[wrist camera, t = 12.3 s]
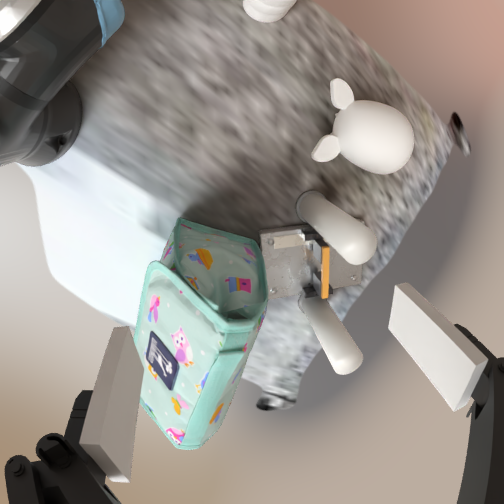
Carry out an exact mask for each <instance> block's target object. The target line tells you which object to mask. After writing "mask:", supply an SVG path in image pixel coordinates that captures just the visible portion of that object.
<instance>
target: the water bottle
mask: <svg viewBox="0 0 504 504" xmlns="http://www.w3.org/2000/svg"><path fill="white" fill-rule="evenodd" d="M295 2H296V0H243V7H244V9H245V11H246V13H247V14H248V15H249V16H250V17H252V18H253V19H255V20H257V21H260V22H275V21H278V20H280V19H281V18H283V17H284V16H285V15H286V14H287V12H288V11H289V9H290V8H291V7H292V6H293V5H294V4H295Z"/></svg>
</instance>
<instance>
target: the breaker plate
mask: <svg viewBox="0 0 504 504" xmlns="http://www.w3.org/2000/svg"><path fill="white" fill-rule="evenodd" d="M356 220H358V221H359V222H361V223H362V224H363V225H365V222H364V221H363V220H361V219H360V218H358V219H356ZM318 239H323V240H324V241H325V242H326V243H327V244H328V245H329V248H330V253H329V290H328V294H333V289H335V288H340V287H346V286H351V285H357V284H361V276H362V264H359V265H354V264H350V263H349V262H347V261H346V260H345V259H344V258H343V257H342V256H341V255H340V254H339V253H338V252H337V251H336V250H335V249H334V248H333V247H332V246H331V245H330V244H329V243H328V242H327V241H326V240H325V239H324V238H323V237H322V236H321V235H320V234H319V233H318V232H317V231H316V230H315V229H314V228H313V227H312V226H311V225H310V224H306V225H297V226H289V227H281V228H273V229H265V230H259V241H260V251H261V253H262V255H263V258H264V262H265V268H266V276H267V283H268V292H269V294H268V300H269V299H275V298H282V297H288V296H294V295H300V294H303V295H304V297H305V298H311V297H316V296H319V295H318V293H317V292H316V290H315V289H314V287H313V272H319V271H321V264H320V262H319V261H318V260H317V259H316V258H315V256H314V255H313V240H318Z"/></svg>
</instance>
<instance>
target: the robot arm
mask: <svg viewBox="0 0 504 504" xmlns="http://www.w3.org/2000/svg"><path fill="white" fill-rule="evenodd" d="M124 18H125V11H124V7H123V4H122V2H121V0H0V166H3V165H6V164H9V163H12V162H17V163H20V164H22V165H25V166H33V167H35V166H42V165H45V164H48V163H51V162H53V161H55V160H57V159H59V158H60V157H61V156H62V155H64V154H65V153H66V152H67V151H68V149H69V148H70V147H71V145H72V144H73V142H74V140H75V139H76V136H77V134H78V131H79V128H80V124H81V118H82V106H81V100H80V97H79V94H78V92H77V90H76V88H75V87H74V85H73V84H72V83H71V82H70V81H69V79H70V78H71V77H72V76H73V75H74V74H75V72H76V71H77V70H78V69H79V68H80V67H81V66H82V65H83V64H84V63H85V62H86V61H87V60H88V59H89V58H90V57H91V56H92V55H93V54H94V53H95V52H96V51H97V50H98V49H100V48H102V47H103V45H104V44H105V43H106V41H107V40H108V39H109V38H110V37H111V36H112V35H113V34H114V33H115V32H116V31H117V30H118V29H119V28H120V27H121V25H122V23H123V20H124ZM388 329H389V330H390V331H391V332H392V334H393V335H394V336H395V337H396V338H397V340H398V341H399V342H400V343H401V345H402V346H403V347H404V348H405V349H406V351H407V352H408V353H409V355H410V356H411V357H412V358H413V359H414V361H415V362H416V363H417V365H418V366H419V367H420V368H421V370H422V371H423V372H424V373H425V375H426V376H427V377H428V378H429V380H430V381H431V383H432V384H433V385H434V386H435V388H436V389H437V390H438V392H439V393H440V394H441V396H442V397H443V398H444V400H445V401H446V402H447V403H448V405H449V406H450V408H451V409H452V410H453V411H456V410H458V409H460V408H462V407H464V406H465V405H466V404H467V403H468V401H469V399H470V397H472V398H473V399H474V400H475V401H474V402H473V404H472V406H471V408H470V410H469V411H468V413H467V416H466V417H469V415H470V413H471V412H472V415H471V426H470V434H469V443H468V449H467V456H466V462H465V468H464V473H463V479H462V483H461V488H460V492H459V497H458V501H457V504H504V358H498V359H497V358H496V357H495V356H494V355H493V354H492V353H491V352H490V351H489V350H488V349H487V348H486V347H485V346H484V345H483V344H482V343H481V342H479V341H478V339H477V338H476V337H474V336H473V335H472V334H471V333H470V332H469V331H468V330H467V329H466V328H464V327H462V326H461V325H459V324H455V325H453V324H452V323H451V322H450V321H449V320H448V319H447V318H446V317H444V315H443V314H441V313H440V312H439V311H438V310H437V309H436V308H435V307H434V306H433V305H432V304H431V303H430V302H428V301H427V300H426V299H425V298H424V297H423V296H422V295H421V294H420V293H419V292H417V291H416V290H415V289H414V288H413V287H412V286H411V285H409V284H408V283H402V284H398V285H395V291H394V298H393V304H392V310H391V316H390V322H389V327H388ZM143 375H144V367H143V364H142V362H141V359H140V356H139V354H138V351H137V348H136V346H135V343H134V340H133V337H132V334H131V331H130V329H129V326H126V327H115V328H114V329H113V332H112V334H111V337H110V340H109V343H108V346H107V349H106V352H105V355H104V358H103V361H102V364H101V367H100V370H99V374H98V377H97V380H96V383H95V386H94V390H83V391H82V392H81V393H80V394H79V395H78V397H77V398H76V399H75V402H74V406H73V408H72V409H73V411H72V412H71V415H70V419H69V421H68V425H67V428H66V431H65V435H64V437H63V436H62V435H60V434H58V433H50V434H47V435H45V436H43V437H42V438H41V439H40V440H39V442H38V443H37V446H36V454H37V456H38V457H39V458H40V459H41V461H35V462H30V461H29V460H28V459H27V458H26V457H25V456H22V455H16V456H13V457H12V458H10V459H9V460H8V461H7V464H6V466H5V479H6V487H7V493H8V499H9V504H121V503H120V501H119V500H118V499H117V498H116V497H115V495H114V494H113V493H112V491H111V490H110V489H109V487H108V486H107V485H106V484H105V478H106V476H107V477H108V478H109V479H110V480H111V481H113V482H130V478H131V468H132V457H133V448H134V439H135V431H136V422H137V414H138V408H139V401H140V394H141V388H142V381H143Z"/></svg>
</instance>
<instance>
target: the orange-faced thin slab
mask: <svg viewBox="0 0 504 504" xmlns="http://www.w3.org/2000/svg"><path fill="white" fill-rule="evenodd" d="M329 253H330V248H329V245H328V244H327V243H326V242H325V241H324V240H323V239H318V240H313V255H314V256H315V258H316V259H317V260H318V261H319V262H320V264H321V271H319V272H313V287H314V289H315V290H316V292H317V293H318V295H319V296H320V297H322V299H324V298H328V290H329Z"/></svg>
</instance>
